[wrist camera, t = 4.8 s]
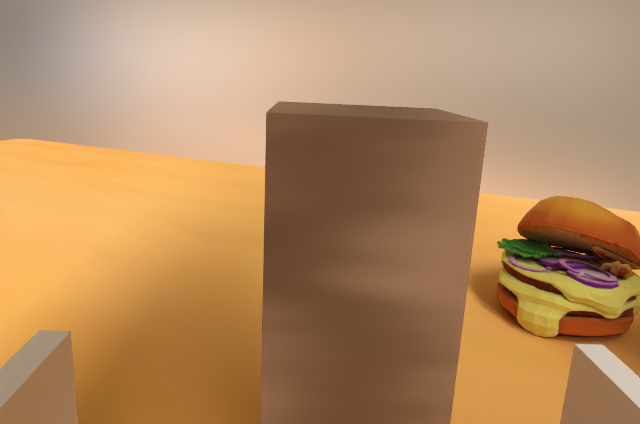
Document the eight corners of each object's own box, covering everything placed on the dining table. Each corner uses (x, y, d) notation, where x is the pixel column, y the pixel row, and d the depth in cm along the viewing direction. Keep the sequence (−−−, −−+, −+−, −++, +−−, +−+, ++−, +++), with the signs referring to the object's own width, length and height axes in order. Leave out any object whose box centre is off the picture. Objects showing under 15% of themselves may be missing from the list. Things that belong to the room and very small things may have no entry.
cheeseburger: (460, 311, 39) (490, 180, 38) (516, 305, 47) (542, 196, 46) (607, 364, 32) (647, 206, 31) (644, 347, 40) (676, 220, 39)
